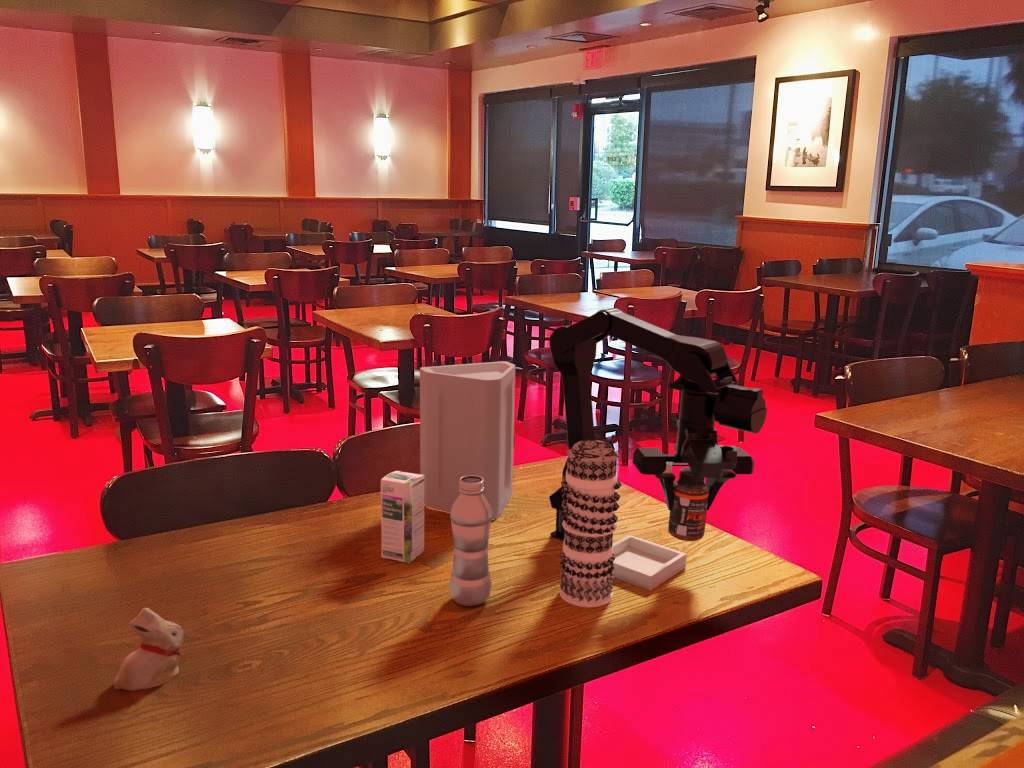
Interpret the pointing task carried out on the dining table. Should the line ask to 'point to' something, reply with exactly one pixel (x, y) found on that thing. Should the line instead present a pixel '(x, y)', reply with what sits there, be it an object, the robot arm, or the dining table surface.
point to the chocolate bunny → (151, 653)
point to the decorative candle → (589, 523)
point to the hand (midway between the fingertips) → (688, 509)
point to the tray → (645, 562)
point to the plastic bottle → (470, 543)
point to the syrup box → (402, 516)
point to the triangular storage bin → (467, 431)
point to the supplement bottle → (688, 507)
